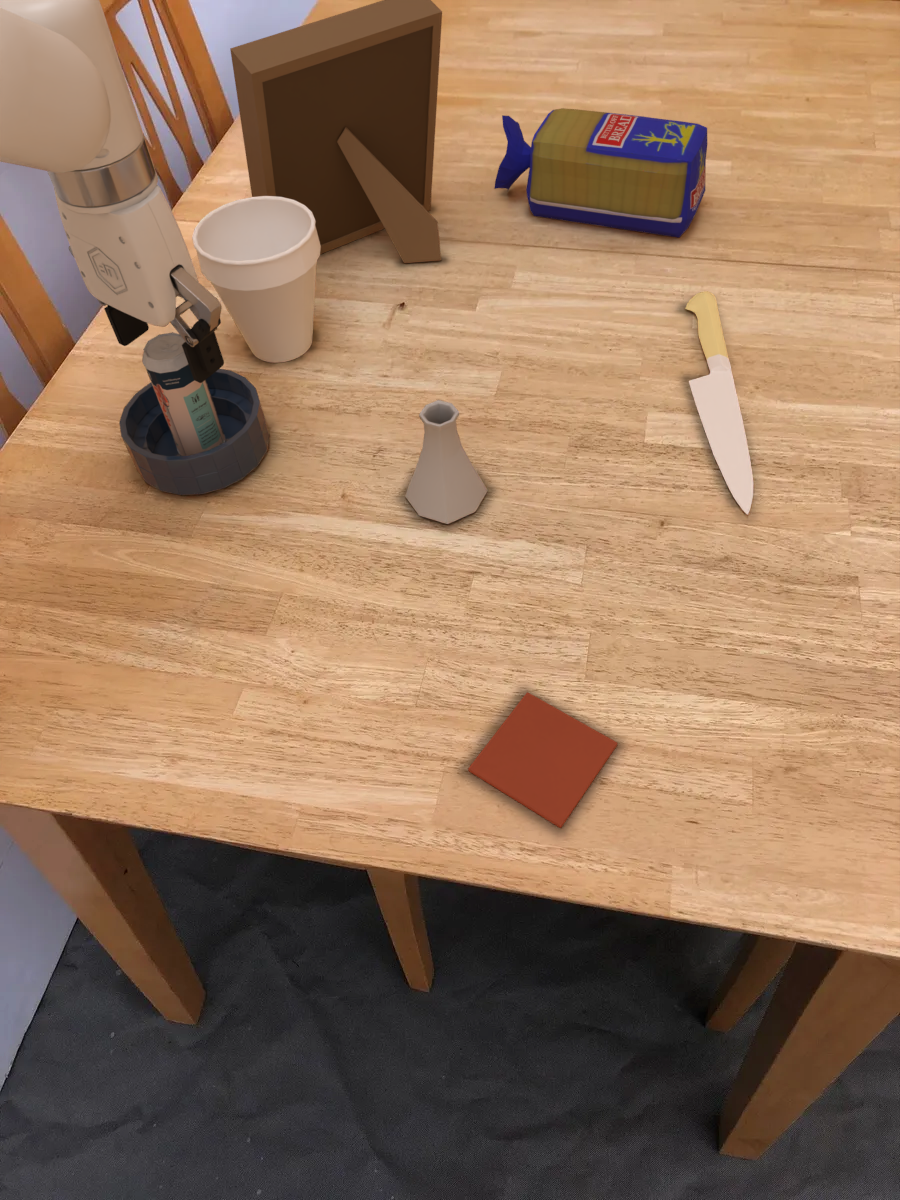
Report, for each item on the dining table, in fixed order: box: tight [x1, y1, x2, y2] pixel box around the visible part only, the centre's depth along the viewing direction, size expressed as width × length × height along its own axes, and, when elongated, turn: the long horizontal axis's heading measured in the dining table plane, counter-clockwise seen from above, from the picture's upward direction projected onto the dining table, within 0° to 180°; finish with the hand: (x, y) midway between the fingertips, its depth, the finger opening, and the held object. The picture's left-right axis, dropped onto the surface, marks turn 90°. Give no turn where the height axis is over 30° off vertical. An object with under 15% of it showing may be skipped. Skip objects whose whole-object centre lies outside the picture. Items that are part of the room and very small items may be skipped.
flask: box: [404, 399, 489, 525], centre depth 82 cm, size 7×7×10 cm
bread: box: [493, 107, 708, 238], centre depth 110 cm, size 10×25×10 cm, turn 68°
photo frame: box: [229, 0, 443, 264], centre depth 102 cm, size 15×22×25 cm
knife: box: [684, 290, 754, 516], centre depth 92 cm, size 1×33×4 cm
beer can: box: [141, 332, 225, 456], centre depth 86 cm, size 5×5×12 cm
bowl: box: [118, 368, 271, 496], centre depth 90 cm, size 13×13×5 cm
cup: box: [191, 196, 321, 364], centre depth 96 cm, size 12×12×14 cm
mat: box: [467, 691, 618, 829], centre depth 68 cm, size 8×8×1 cm
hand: (171, 354), depth 83 cm, fingers open, 9 cm apart
